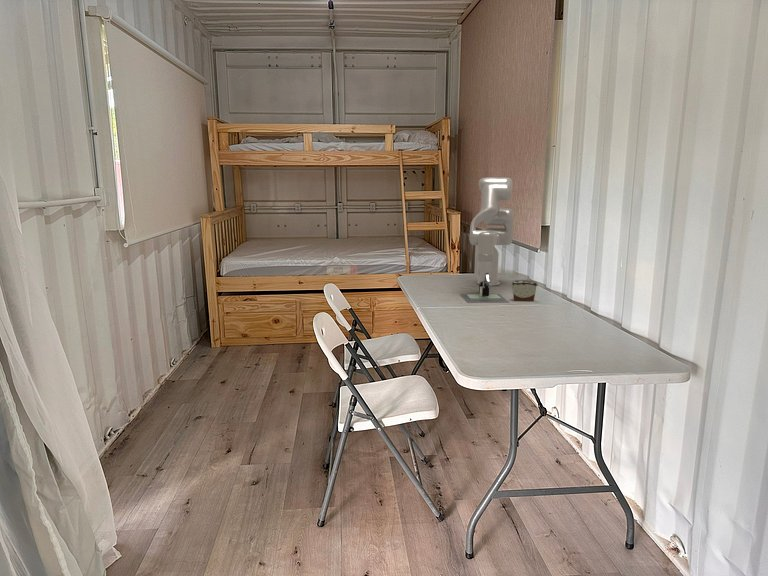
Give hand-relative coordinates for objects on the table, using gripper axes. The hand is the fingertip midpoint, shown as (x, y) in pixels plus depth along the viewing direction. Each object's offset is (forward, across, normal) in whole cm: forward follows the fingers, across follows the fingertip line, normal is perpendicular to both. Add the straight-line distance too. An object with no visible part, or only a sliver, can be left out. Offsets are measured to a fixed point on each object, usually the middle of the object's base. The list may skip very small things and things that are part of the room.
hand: (483, 294), depth 257 cm
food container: (+3, +4, +18) cm, 19 cm away
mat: (+3, 0, 0) cm, 3 cm away
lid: (+2, 0, 0) cm, 2 cm away
